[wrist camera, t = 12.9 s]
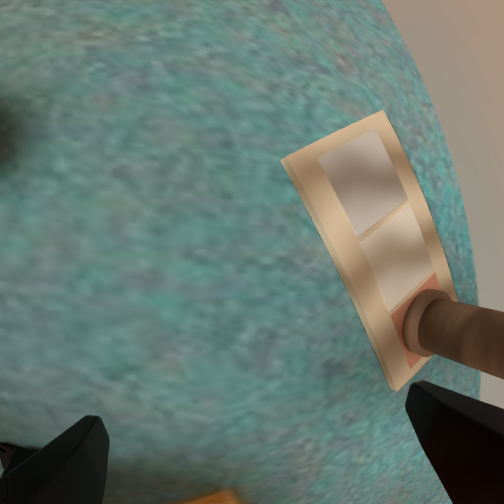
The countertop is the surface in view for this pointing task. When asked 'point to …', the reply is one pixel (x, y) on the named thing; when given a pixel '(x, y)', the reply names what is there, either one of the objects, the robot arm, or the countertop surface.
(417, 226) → the board
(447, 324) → the pawn
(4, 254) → the countertop surface
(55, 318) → the countertop surface
